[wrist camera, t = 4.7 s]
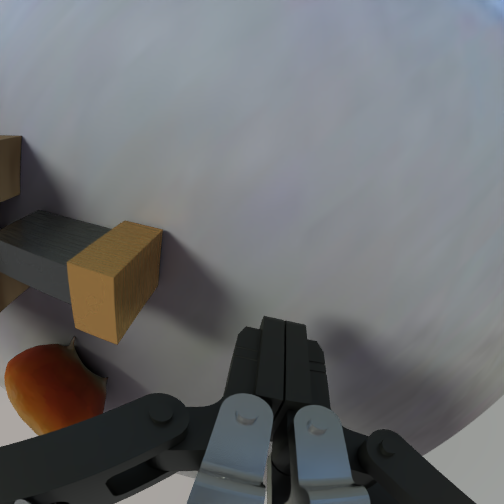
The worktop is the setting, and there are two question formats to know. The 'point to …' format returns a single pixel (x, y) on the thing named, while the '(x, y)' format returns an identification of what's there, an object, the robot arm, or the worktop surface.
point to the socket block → (5, 187)
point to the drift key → (85, 267)
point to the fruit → (53, 388)
